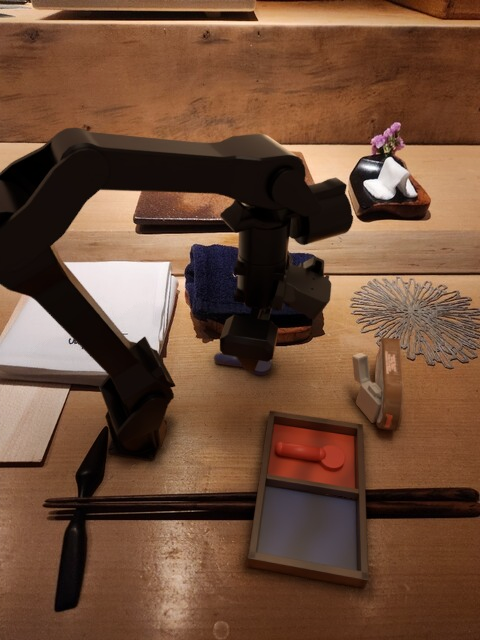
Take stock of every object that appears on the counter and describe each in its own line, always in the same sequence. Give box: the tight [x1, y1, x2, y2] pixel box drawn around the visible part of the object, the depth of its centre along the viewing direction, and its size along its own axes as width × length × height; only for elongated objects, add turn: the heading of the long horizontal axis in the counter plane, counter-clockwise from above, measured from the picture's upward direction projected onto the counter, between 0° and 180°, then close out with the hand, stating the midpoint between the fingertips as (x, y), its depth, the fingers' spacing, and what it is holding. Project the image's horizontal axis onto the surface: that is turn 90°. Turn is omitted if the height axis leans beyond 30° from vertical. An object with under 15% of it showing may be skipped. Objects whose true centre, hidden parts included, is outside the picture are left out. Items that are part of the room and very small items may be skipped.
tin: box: [374, 337, 405, 432], centre depth 67 cm, size 15×3×8 cm, turn 168°
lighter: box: [351, 351, 382, 424], centre depth 66 cm, size 7×2×8 cm, turn 26°
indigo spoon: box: [213, 352, 272, 377], centre depth 74 cm, size 9×3×2 cm, turn 80°
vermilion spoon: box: [275, 442, 345, 472], centre depth 61 cm, size 9×3×2 cm, turn 81°
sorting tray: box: [246, 410, 370, 589], centre depth 58 cm, size 13×20×3 cm, turn 171°
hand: (256, 345), depth 64 cm, fingers open, 9 cm apart
